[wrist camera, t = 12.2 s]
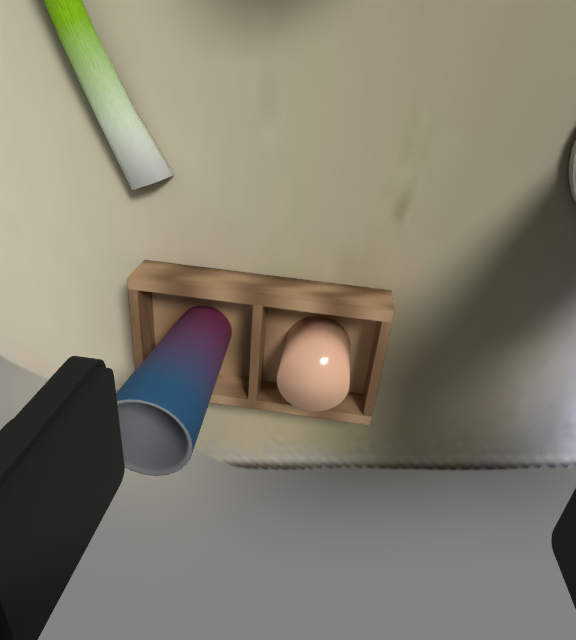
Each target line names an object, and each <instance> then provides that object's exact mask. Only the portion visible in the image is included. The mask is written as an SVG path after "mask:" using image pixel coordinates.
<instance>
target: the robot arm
mask: <svg viewBox="0 0 576 640" xmlns="http://www.w3.org/2000/svg"><path fill="white" fill-rule="evenodd" d="M569 183H570V188H571V193H572V196H573V198H574V200H575V202H576V140H575V142H574V144H573V147H572V152H571V157H570V161H569ZM124 468H125V465H124V456H123V448H122V440H121V431H120V423H119V415H118V406H117V398H116V390H115V381H114V374H113V371H112V369H110V368H106V366H105V363H104V361H103V360H100V359H93V358H86V357H79V356H72V357H70V358H69V359H68V360H67V361H66V362H65V363H64V364H63V365H62V366H61V367H60V368H59V369H58V370H57V372H56V373H55V374H54V375H53V376H52V377H51V378H50V379H49V380H48V382H47V383H46V384H45V385H44V386H43V387H42V388H41V389H40V390H39V391H38V392H37V394H36V395H35V396H34V397H33V398H32V399H31V400H30V401H29V402H28V404H26V406H25V407H24V408H23V409H22V410H21V411H20V412H19V413H18V414H17V415H16V417H15V418H14V419H12V420H11V421H9V422H8V423H7V424H6V425H5V426H4V427H3V428H2V429H1V430H0V640H37V639H38V638H39V636H40V634H41V632H42V630H43V628H44V626H45V625H46V623H47V621H48V619H49V617H50V615H51V613H52V612H53V610H54V608H55V606H56V604H57V602H58V600H59V599H60V597H61V595H62V593H63V591H64V589H65V587H66V585H67V583H68V582H69V580H70V578H71V576H72V574H73V572H74V570H75V568H76V566H77V565H78V563H79V561H80V559H81V557H82V555H83V554H84V552H85V550H86V548H87V546H88V544H89V542H90V540H91V538H92V536H93V535H94V533H95V531H96V529H97V527H98V525H99V523H100V522H101V520H102V518H103V516H104V514H105V512H106V510H107V509H108V507H109V505H110V503H111V501H112V499H113V497H114V495H115V494H116V492H117V490H118V488H119V486H120V484H121V482H122V479H123V475H124ZM552 548H553V552H554V555H555V557H556V560H557V562H558V565H559V567H560V570H561V573H562V575H563V578H564V580H565V583H566V585H567V588H568V590H569V593H570V595H571V598H572V601H573V603H574V606H575V608H576V489H575V491H574V492H573V494H572V496H571V498H570V500H569V502H568V504H567V506H566V508H565V509H564V511H563V513H562V515H561V517H560V519H559V521H558V522H557V524H556V526H555V528H554V530H553V533H552Z"/></svg>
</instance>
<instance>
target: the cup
mask: <svg viewBox="0 0 576 640" xmlns="http://www.w3.org/2000/svg"><path fill="white" fill-rule="evenodd" d="M231 337H232V328H231V325H230V322H229V321H228V319H227V318H226V316H225V315H224V314H223V313H221V312H220V311H219V310H217V309H215V308H213V307H210V306H194V307H192V308H190V309H188V310H187V311H186V312H185V313H184V314H183V315H182V316H181V317H180V319H179V320H178V321H177V322H176V323H175V324H174V326H173V327H172V328H171V329H170V330H169V332H168V333H167V334H166V335H165V336H164V337H163V339H162V340H161V341H160V342H159V343H158V345H157V346H156V347H155V348H154V349H153V350H152V352H151V353H150V354H149V355H148V356H147V358H146V359H145V360H144V361H143V362H142V363H141V365H140V366H139V367H138V368H137V369H136V371H135V372H134V373H133V374H132V375H131V376H130V378H129V379H128V380H127V381H126V382H125V383H124V385H123V386H122V387H121V388H120V389H119V391H118V392H117V393H116V398H117V406H118V415H119V423H120V431H121V440H122V448H123V456H124V465H125V467H126V468H128V469H130V470H132V471H135V472H138V473H141V474H146V475H154V476H159V475H168V474H171V473H174V472H176V471H178V470H180V469H182V468H183V467H184V466H185V465H186V464H187V463H188V461H189V460H190V458H191V455H192V452H193V449H194V446H195V443H196V440H197V437H198V434H199V431H200V428H201V425H202V422H203V419H204V416H205V413H206V410H207V407H208V405H209V402H210V399H211V396H212V393H213V390H214V387H215V384H216V381H217V378H218V375H219V372H220V369H221V366H222V363H223V360H224V357H225V354H226V351H227V348H228V345H229V342H230V340H231Z"/></svg>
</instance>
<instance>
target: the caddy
mask: <svg viewBox="0 0 576 640" xmlns="http://www.w3.org/2000/svg"><path fill="white" fill-rule="evenodd" d="M127 284H128V295H129V306H130V317H131V328H132V339H133V349H134V360H135V371H136V369H137V368H138V367H139V366H140V365H141V363H142V362H143V361H144V360H145V359H146V358H147V356H148V355H149V354H150V353H151V352H152V350H153V349H154V348H155V347H156V346H157V345H158V343H159V342H160V341H161V340H162V339H163V337H164V336H165V335H166V334H167V333H168V332H169V330H170V329H171V328H172V327H173V326H174V324H175V323H176V322H177V321H178V320H179V319H180V317H181V316H182V315H183V314H184V313H185V312H186V311H187V310H188V309H190V308H192V307H194V306H210V307H213V308H215V309H217V310H219V311H220V312H221V313H223V314H224V315H225V316H226V318H227V319H228V321H229V322H230V325H231V328H232V337H231V340H230V342H229V345H228V348H227V351H226V354H225V357H224V360H223V363H222V366H221V369H220V372H219V375H218V378H217V381H216V384H215V387H214V390H213V393H212V396H211V399H210V403H217V404H224V405H231V406H239V407H246V408H253V409H260V410H267V411H274V412H281V413H288V414H295V415H302V416H309V417H316V418H323V419H330V420H337V421H344V422H352V423H359V424H366V425H370V423H371V419H372V414H373V409H374V405H375V400H376V395H377V391H378V386H379V381H380V377H381V372H382V367H383V363H384V358H385V353H386V349H387V344H388V339H389V335H390V330H391V325H392V321H393V316H394V306H393V299H392V292H391V290H384V289H375V288H367V287H359V286H351V285H343V284H335V283H327V282H319V281H311V280H303V279H295V278H286V277H278V276H270V275H262V274H254V273H246V272H238V271H230V270H222V269H214V268H206V267H197V266H189V265H181V264H173V263H165V262H157V261H149V260H144V261H143V262H142V263H141V264H140V265H139V266H138V267H137V268H136V269H135V271H134V272H133V273H132V274H131V275H130V276H129V277H128V278H127ZM310 316H323V317H327V318H330V319H333V320H335V321H336V322H338V323H339V324H340V325H341V326H342V327H343V328H344V329H345V330H346V332H347V333H348V336H349V339H350V385H349V391H348V393H347V395H346V397H345V399H344V400H343V401H342V402H341V403H340V404H338V405H337V406H335V407H333V408H331V409H328V410H324V411H307V410H303V409H300V408H297V407H295V406H293V405H292V404H290V403H289V402H288V401H287V400H285V398H284V397H283V396H282V395H281V393H280V391H279V389H278V386H277V374H278V370H279V366H280V361H281V357H282V353H283V349H284V345H285V340H286V336H287V333H288V331H289V329H290V328H291V327H292V326H293V325H294V324H295V323H296V322H297V321H299V320H301V319H303V318H306V317H310Z"/></svg>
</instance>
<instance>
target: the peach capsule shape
mask: <svg viewBox="0 0 576 640" xmlns="http://www.w3.org/2000/svg"><path fill="white" fill-rule="evenodd" d="M349 385H350V339H349V336H348V333H347V332H346V330H345V329H344V328H343V327H342V326H341V325H340V324H339V323H338V322H336V321H335V320H333V319H330V318H327V317H323V316H310V317H306V318H303V319H301V320H299V321H297V322H296V323H295V324H294V325H293V326H292V327H291V328H290V329H289V331H288V333H287V336H286V340H285V345H284V349H283V353H282V357H281V361H280V366H279V370H278V374H277V386H278V389H279V391H280V393H281V395H282V396H283V397H284V398H285V400H287V401H288V402H289V403H290V404H292V405H293V406H295V407H297V408H300V409H303V410H307V411H324V410H328V409H331V408H333V407H335V406H337V405H338V404H340V403H341V402H342V401H343V400H344V399H345V397H346V395H347V393H348V391H349Z"/></svg>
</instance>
